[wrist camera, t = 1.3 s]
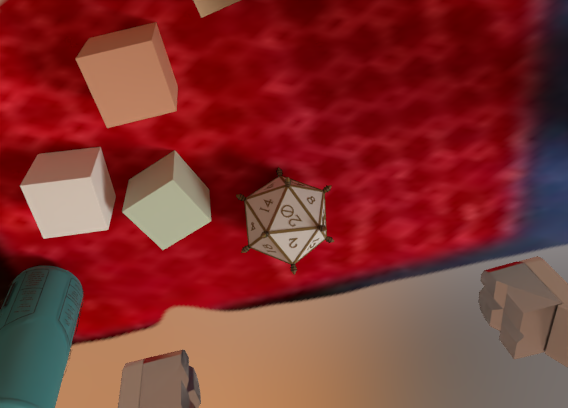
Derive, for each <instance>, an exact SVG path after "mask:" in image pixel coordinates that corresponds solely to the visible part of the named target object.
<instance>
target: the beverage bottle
mask: <svg viewBox="0 0 568 408" xmlns="http://www.w3.org/2000/svg"><path fill="white" fill-rule="evenodd" d="M12 282H13V283H12V285H11V287H10V289H9V292H8V294H7V291H6V295H7V296H5V298H6V299H5V298H3V299H4V302H3V305H2V308H1V309H0V408H55V405H56V401H57V397H58V393H59V390H60V386H61V382H62V378H63V374H64V370H65V367H66V364H67V360H68V356H69V352H70V348H71V346H72V345H71V344H73V343H72V339H73V335H74V331H75V327H76V323H77V319H78V317H79V311H80V306H81V307H82V305H81V302H82V298H83V292H84V291H83V289H82V286H81V283H80V282H79V280H78V279H77V278H76V277H75V276H74V275H73V274H72V273H70V272H69V271H67V270H64V269H62V268H59V267H54V266H36V267H32V268H29V269H26V270H25V271H23V272H21V273H20V274H19V275H18V276H16V278H15V279H14V281H12ZM9 286H10V285H9ZM8 288H9V287H8ZM2 301H3V300H2ZM0 306H1V305H0ZM81 310H82V309H81ZM80 314H81V311H80ZM79 318H80V317H79ZM78 322H79V321H78ZM77 324H78V323H77ZM77 327H78V325H77ZM76 331H77V329H76ZM75 334H76V333H75Z"/></svg>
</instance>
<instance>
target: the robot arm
mask: <svg viewBox="0 0 568 408" xmlns="http://www.w3.org/2000/svg"><path fill="white" fill-rule="evenodd" d="M481 282H482V284H483V285H484V287H483V288H482V290H481V291H480V292H479V300H478V302H479V305H480V310H481V312H482V314H483V316H484V318H485V320H486V321H487V323H488V324H489V326H491V327H493V328H495V329H497V330H499V331H500V336H499V340H500V341H501V342H502V344H503V345H504V347H505V348H506V349H507V351H508V352H509V353H510V355H511V356H512V358H513V359H518V358H522V357H526V356H530V355H534V354H539V353H542V352H545V354H547V355H548V356H550V357H551V358H553V359H555V360H556V361H558V362H559V363H561V364H563V365H564V366H566V367H568V283H567V282H565V280H564V279H563V278H562V277H560V275H559V274H558V273H557V272H555V270H553V269H552V268H551V267H550V266H549V265H548V264H547V263H546V262H545V261H544V260H543V259H542V258H540V257H538V256H537V257H534V258H530V259H526V260H523V261H519V262H513V263H510V264H506V265H502V266H499V267H495V268H492V269H488V270H484V271H483V273H482V274H481ZM200 404H201V400H200V389H199V383H198V379H197V375H196V373H195V370H194V368H192V367H190V366H189V358H188V356H187V354H186V352H185V350H180V351H175V352H171V353H167V354H163V355H158V356H154V357H150V358H146V359H142V360H138V361H134V362H130V363H126V364H125V366H124V368H123V372H122V379H121V388H120V395H119V403H118V408H198V407H199V405H200Z"/></svg>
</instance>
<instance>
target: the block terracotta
mask: <svg viewBox="0 0 568 408" xmlns="http://www.w3.org/2000/svg"><path fill="white" fill-rule="evenodd" d="M76 61H77V63H78V65H79V68H80V70H81V72H82V74H83V76H84V79H85V81H86V83H87V85H88V87H89V90H90V92H91V94H92V96H93V98H94V100H95V103H96V105H97V107H98V109H99V111H100V114H101V116H102V118H103V120H104V122H105V124H106V127H107V128H110V127H114V126H118V125H122V124H126V123H130V122H134V121H138V120H142V119H146V118H150V117H154V116H159V115H163V114H167V113H171V112H175V111H177V94H178V86H177V83H176V80H175V77H174V74H173V71H172V68H171V65H170V62H169V59H168V56H167V53H166V50H165V47H164V44H163V41H162V38H161V35H160V32H159V29H158V26H157V23H156V22H155V23H151V24H146V25H142V26H138V27H134V28H130V29H125V30H121V31H117V32H113V33H109V34H104V35H100V36H96V37H92V38H89V39H88V40H87V42H86V43H85V45H84V46H83V48H82V49H81V51H80V52H79V54H78V56H77V57H76Z"/></svg>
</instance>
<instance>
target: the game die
mask: <svg viewBox="0 0 568 408" xmlns="http://www.w3.org/2000/svg"><path fill="white" fill-rule="evenodd" d="M276 172H277V175H278V177H277V178H275V179H274V180H272V181H271V182H269V183H268V184H266V185H265V186H263V187H261V188H260V189H258V190H257V191H255V192H254V193H252V194H251V195H249V196H248V197H244V195H241V194H238V195H236V196H237V198H238V200H241V201H244V203H245V214H246V225H247V236H248V245H247V246H245V247H244V248H243V249H242V251H241V253H243V252H246V253H247V251H249V249H250V248H252V249H254V250H257V251H259V252H262V253H264V254H266V255H269V256H271V257H274V258H276V259H279V260H281V261H284V262H286V263H288V264H291V271H292V272H293V274H294V275H295V273H296V271H297V269H296V268H297V267H296V266H295V264H296V263H297V262H298V261H299V260H300V259H302V258H303V257H304V256H305V255H307V254H308V253H309V252H310V251H311V250H313V249H314V248H315V247H316V246H318V245H319V244H320V243H321V242H323V241H324V240H326V241H327V242H329V243H330V242H334V241H333V238H332V237H328V236H327V234H326V230H327V229H326V212H325V192H328V191H329V190H330V189H331V186H332V185H330V186H327V185H326V187H324V189H323V190H321V189H318V188H315V187H312V186H309V185H307V184H304V183H301V182H298V181H295V180H292V179H290V178H289V177H284V176H282V174H283V173H282V170H281V169H280V168H278V170H277V171H276Z"/></svg>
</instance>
